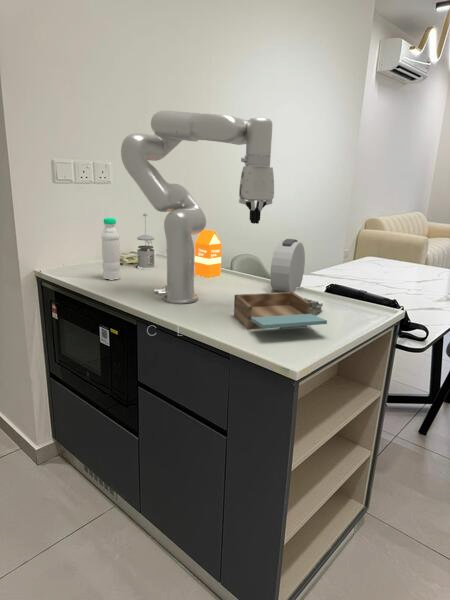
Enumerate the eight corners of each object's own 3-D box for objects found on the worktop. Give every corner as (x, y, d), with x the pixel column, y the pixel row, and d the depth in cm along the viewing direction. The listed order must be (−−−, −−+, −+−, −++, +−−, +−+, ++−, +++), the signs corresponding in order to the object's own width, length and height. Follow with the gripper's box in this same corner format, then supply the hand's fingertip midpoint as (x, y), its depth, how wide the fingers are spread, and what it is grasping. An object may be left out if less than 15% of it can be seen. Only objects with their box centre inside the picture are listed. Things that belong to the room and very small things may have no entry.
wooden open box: (247, 329, 130) (248, 306, 128) (233, 315, 142) (234, 294, 140) (308, 325, 136) (310, 303, 134) (291, 312, 148) (292, 291, 146)
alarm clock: (286, 281, 189) (289, 235, 184) (303, 284, 186) (307, 237, 181) (269, 292, 171) (272, 241, 165) (287, 295, 168) (291, 243, 162)
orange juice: (207, 272, 202) (208, 228, 196) (220, 276, 196) (222, 230, 190) (194, 275, 196) (194, 229, 191) (208, 278, 190) (209, 231, 185)
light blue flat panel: (250, 323, 128) (263, 331, 119) (250, 317, 128) (263, 324, 119) (310, 319, 134) (326, 327, 124) (310, 313, 133) (327, 320, 124)
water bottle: (124, 278, 185) (122, 218, 179) (111, 281, 180) (109, 219, 173) (112, 276, 189) (109, 216, 182) (99, 279, 183) (96, 217, 176)
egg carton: (311, 319, 142) (312, 307, 141) (290, 314, 146) (291, 302, 145) (324, 311, 151) (325, 300, 149) (304, 307, 155) (305, 296, 153)
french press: (132, 268, 205) (130, 213, 198) (141, 263, 216) (139, 211, 209) (152, 270, 203) (152, 214, 196) (160, 265, 214) (160, 212, 207)
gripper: (238, 160, 129) (235, 224, 134) (285, 163, 133) (281, 224, 138) (230, 161, 136) (228, 221, 141) (275, 163, 140) (272, 221, 145)
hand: (254, 223), depth 140 cm, fingers closed
